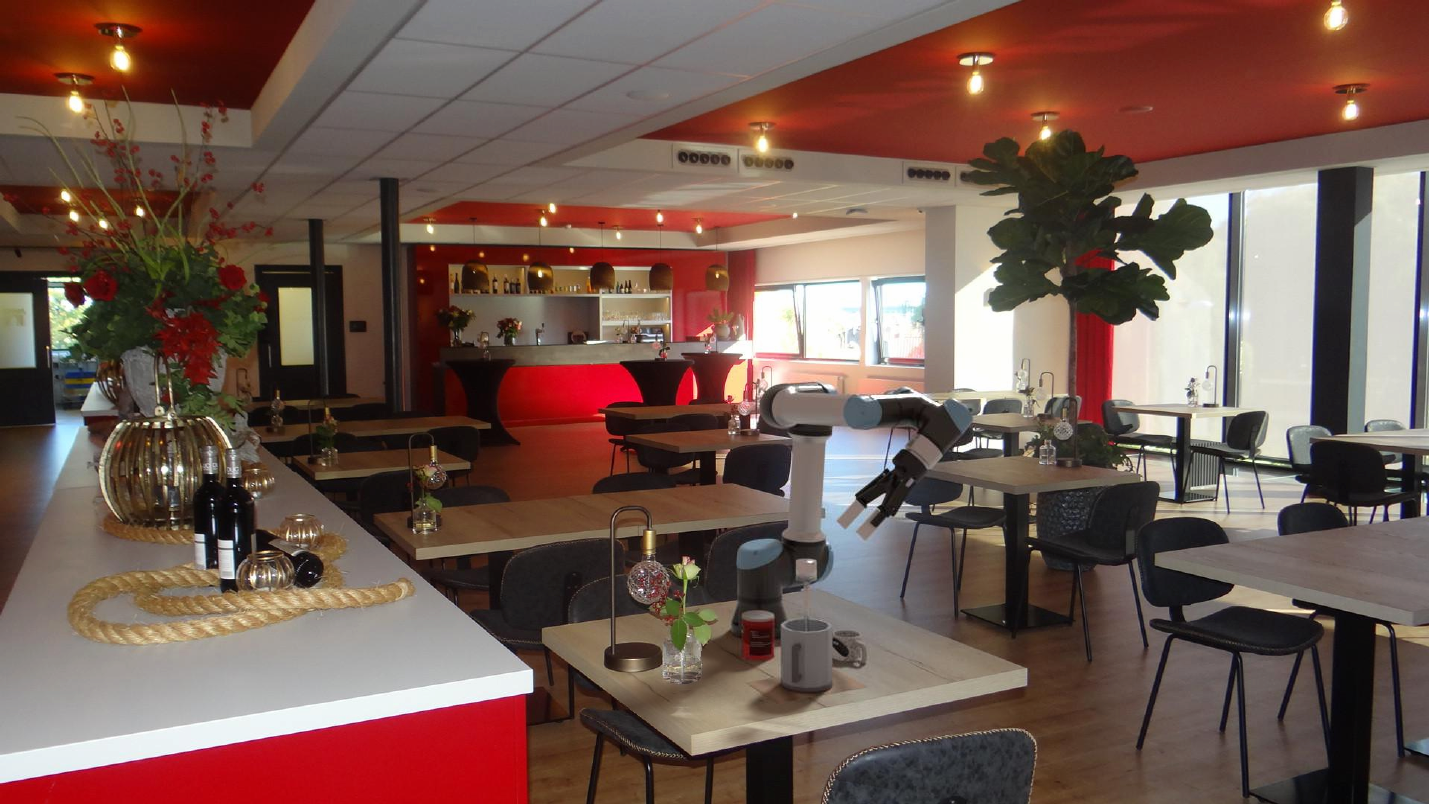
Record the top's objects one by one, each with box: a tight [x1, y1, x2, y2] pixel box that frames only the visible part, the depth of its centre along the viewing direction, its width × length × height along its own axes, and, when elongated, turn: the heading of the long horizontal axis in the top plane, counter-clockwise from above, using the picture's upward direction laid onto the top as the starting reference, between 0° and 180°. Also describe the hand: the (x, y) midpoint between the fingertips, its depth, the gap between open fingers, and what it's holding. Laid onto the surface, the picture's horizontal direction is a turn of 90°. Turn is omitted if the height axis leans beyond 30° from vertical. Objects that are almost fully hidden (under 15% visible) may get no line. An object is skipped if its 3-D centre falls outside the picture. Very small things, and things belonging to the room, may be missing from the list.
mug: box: [832, 629, 868, 665], centre depth 233 cm, size 10×7×7 cm
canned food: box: [741, 610, 775, 662], centre depth 236 cm, size 8×8×11 cm
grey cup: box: [780, 617, 833, 694], centre depth 214 cm, size 11×14×13 cm
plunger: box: [796, 559, 817, 632], centre depth 214 cm, size 8×8×18 cm
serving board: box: [746, 667, 868, 704], centre depth 215 cm, size 22×14×1 cm, turn 115°
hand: (850, 530), depth 215 cm, fingers open, 13 cm apart
